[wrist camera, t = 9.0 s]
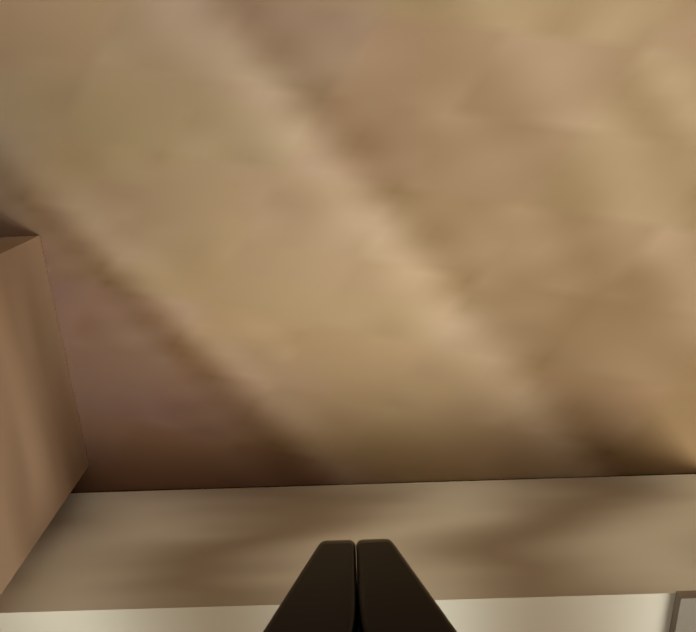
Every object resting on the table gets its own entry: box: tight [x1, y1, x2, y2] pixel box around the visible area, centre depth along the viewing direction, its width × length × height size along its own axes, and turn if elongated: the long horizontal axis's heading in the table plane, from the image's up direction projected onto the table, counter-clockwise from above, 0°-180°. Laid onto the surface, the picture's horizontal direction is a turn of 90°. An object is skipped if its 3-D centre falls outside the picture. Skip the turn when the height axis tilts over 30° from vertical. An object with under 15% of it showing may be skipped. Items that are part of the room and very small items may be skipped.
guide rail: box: [0, 474, 696, 632], centre depth 15 cm, size 24×2×4 cm, turn 92°
